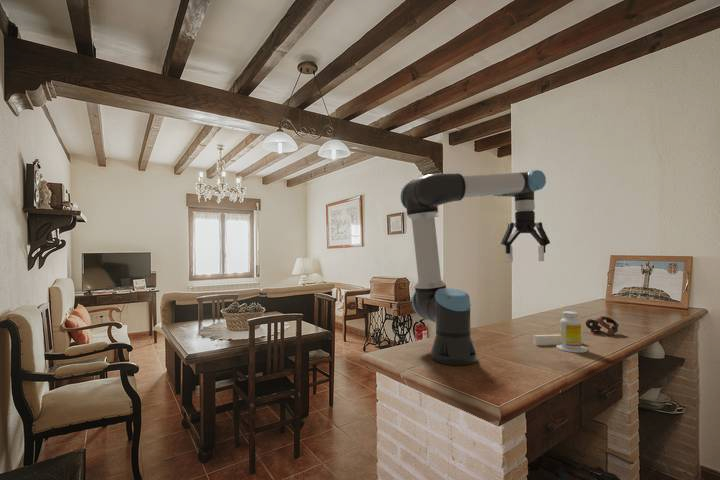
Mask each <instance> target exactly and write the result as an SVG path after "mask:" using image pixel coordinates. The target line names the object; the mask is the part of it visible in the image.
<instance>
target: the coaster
mask: <svg viewBox="0 0 720 480" xmlns="http://www.w3.org/2000/svg"><path fill="white" fill-rule="evenodd" d="M555 346H556V348H557V349H558V350H560V351H562V352H568V353H576V354H579V353H580V354H581V353H586V352H588V350H589V349H588V348H587V346H583V345H581V348H580V349H569V348H565V347H563V346H561V344H557V345H555Z"/></svg>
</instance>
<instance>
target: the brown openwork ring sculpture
mask: <svg viewBox="0 0 720 480" xmlns="http://www.w3.org/2000/svg"><path fill="white" fill-rule="evenodd" d="M604 320H605V321H606V322H605V321H604ZM610 324H612V326H611V327H610ZM585 326H586V327H587V329H589V330H590V332H591V333H592V332H595V331H599V332H600V331H601V329H602V327H603V328H605V329H607V330H608V331H607V332H606V335H607V336H608V337H609V336H610V337H611V336H612V335H614V334H616V333H618V332H619V329H618V327H619V324H618V322H617V321H616V320H614V319H612V318H611V317H608V316H604V315H602V316H599V317H598V318H595V319H592V318H591V319H590V318H589V319H587V320H586V321H585Z"/></svg>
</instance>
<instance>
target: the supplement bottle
mask: <svg viewBox="0 0 720 480" xmlns="http://www.w3.org/2000/svg"><path fill="white" fill-rule="evenodd" d="M578 314H579V313H578V312H576V311H572V310H571V311H567V310H566V311H562V316H563V317H562V318H561V319H560V322H559V323H560V325H559V328H560V334H561V346H563V347H565V348H569V349H580V348H581V346H582V344H581V334H582V322H581V321H580V319H578Z"/></svg>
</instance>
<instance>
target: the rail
mask: <svg viewBox="0 0 720 480" xmlns="http://www.w3.org/2000/svg"><path fill="white" fill-rule="evenodd" d="M532 336H533V345H535V346H556V345H557V344H561V333H559V334H557V333H556V334H536V335H535V334H533V335H532ZM583 337H584V335H583V334H582V333H581V345H583V344H584V343H583V341H584V339H583Z"/></svg>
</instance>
